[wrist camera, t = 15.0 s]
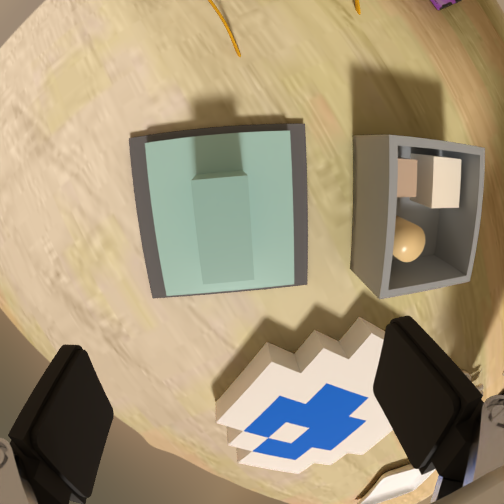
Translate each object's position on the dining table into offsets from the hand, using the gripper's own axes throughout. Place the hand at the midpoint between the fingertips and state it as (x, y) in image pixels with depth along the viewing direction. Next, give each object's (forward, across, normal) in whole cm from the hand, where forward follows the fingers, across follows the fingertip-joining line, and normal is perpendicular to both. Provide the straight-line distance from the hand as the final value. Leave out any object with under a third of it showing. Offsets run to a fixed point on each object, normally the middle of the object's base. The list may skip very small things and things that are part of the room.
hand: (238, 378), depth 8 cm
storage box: (+21, -18, 0) cm, 28 cm away
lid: (+21, 0, 0) cm, 21 cm away
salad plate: (+23, -38, +72) cm, 84 cm away
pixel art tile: (+22, -11, +28) cm, 37 cm away
